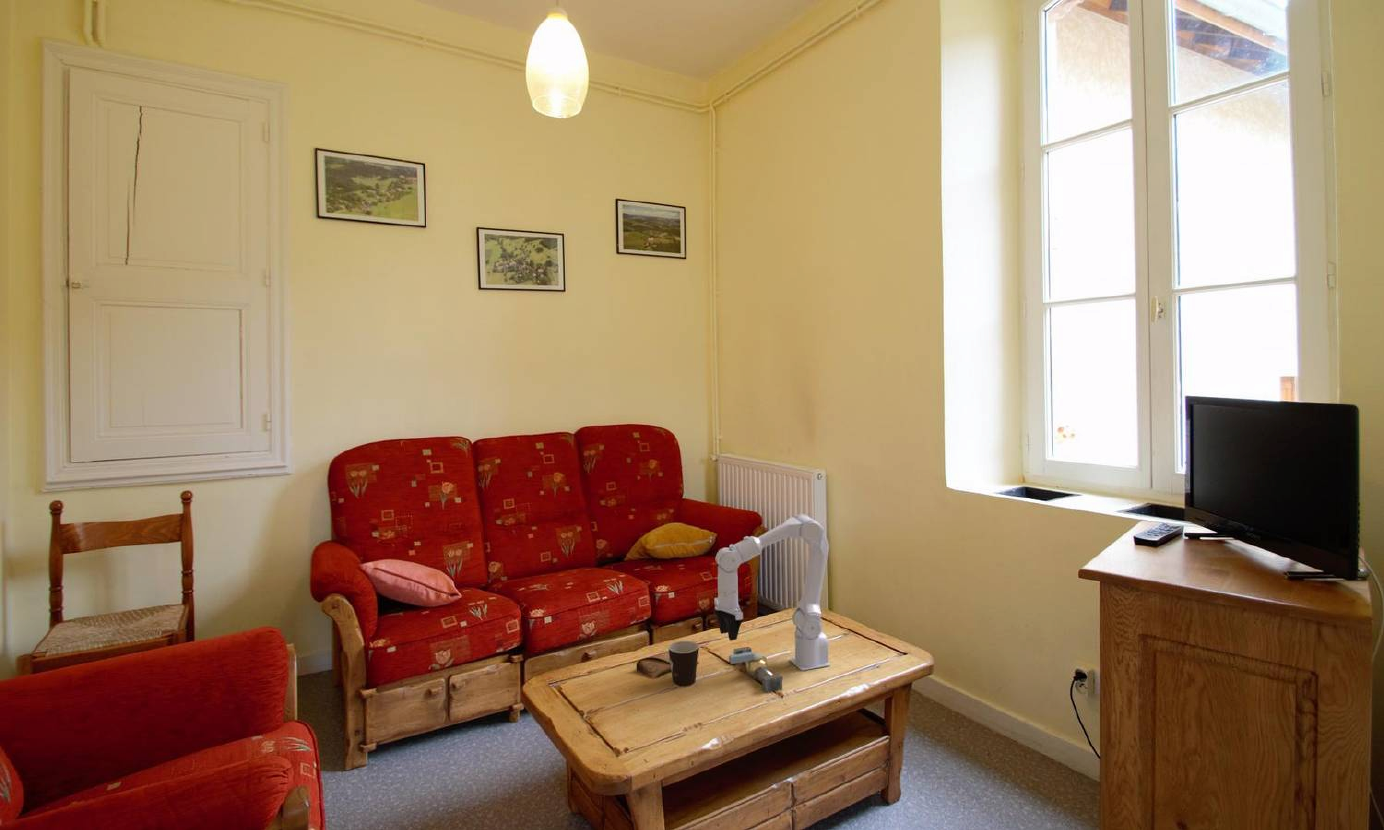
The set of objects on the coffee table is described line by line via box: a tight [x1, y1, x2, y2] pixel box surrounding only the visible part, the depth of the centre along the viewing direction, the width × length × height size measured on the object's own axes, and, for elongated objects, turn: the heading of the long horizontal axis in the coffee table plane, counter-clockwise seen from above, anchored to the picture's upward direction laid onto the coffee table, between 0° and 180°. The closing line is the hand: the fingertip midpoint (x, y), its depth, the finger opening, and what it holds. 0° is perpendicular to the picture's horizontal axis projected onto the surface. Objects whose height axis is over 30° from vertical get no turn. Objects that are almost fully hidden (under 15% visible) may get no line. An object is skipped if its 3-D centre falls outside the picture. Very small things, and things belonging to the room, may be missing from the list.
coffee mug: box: [667, 640, 700, 688], centre depth 191 cm, size 12×9×10 cm
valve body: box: [733, 646, 783, 694], centre depth 193 cm, size 22×6×4 cm, turn 20°
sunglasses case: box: [636, 650, 700, 680], centre depth 200 cm, size 18×7×7 cm, turn 129°
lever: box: [728, 651, 763, 665], centre depth 192 cm, size 10×3×2 cm, turn 109°
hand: (728, 636), depth 195 cm, fingers open, 5 cm apart
